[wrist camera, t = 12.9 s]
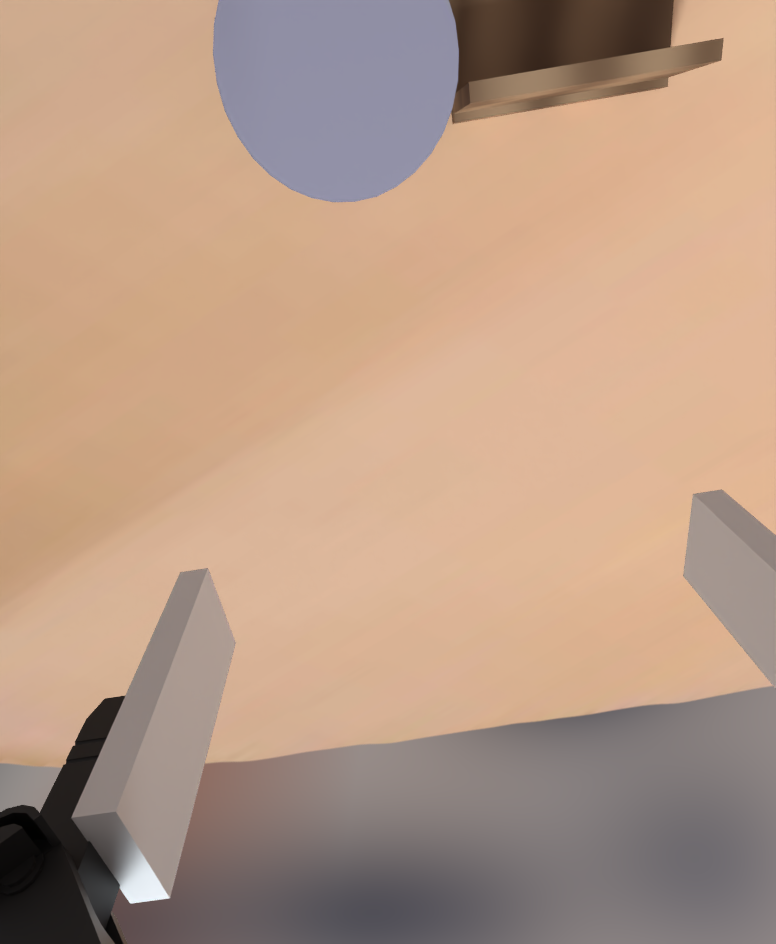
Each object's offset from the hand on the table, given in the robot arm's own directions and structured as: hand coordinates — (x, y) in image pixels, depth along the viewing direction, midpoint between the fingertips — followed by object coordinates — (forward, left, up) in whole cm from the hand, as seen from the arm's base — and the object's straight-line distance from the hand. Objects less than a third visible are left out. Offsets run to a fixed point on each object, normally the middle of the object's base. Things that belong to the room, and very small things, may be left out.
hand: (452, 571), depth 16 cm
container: (-1, +14, -32) cm, 35 cm away
